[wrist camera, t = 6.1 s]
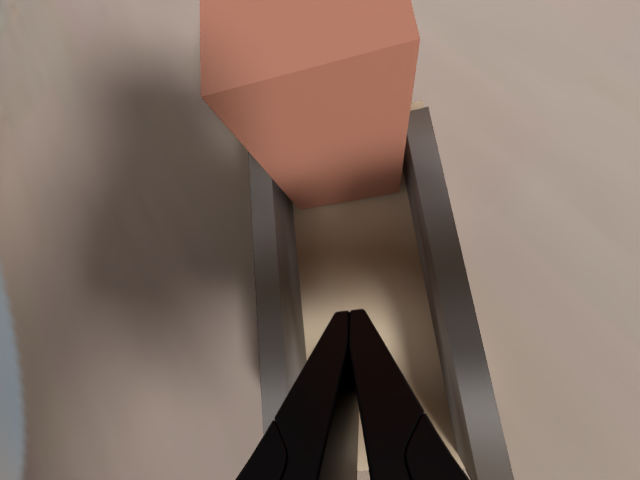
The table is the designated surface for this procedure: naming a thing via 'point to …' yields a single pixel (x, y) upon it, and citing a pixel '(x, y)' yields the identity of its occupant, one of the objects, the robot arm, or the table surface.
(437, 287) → the chute
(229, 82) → the brick-red block
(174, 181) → the table surface
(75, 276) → the table surface
